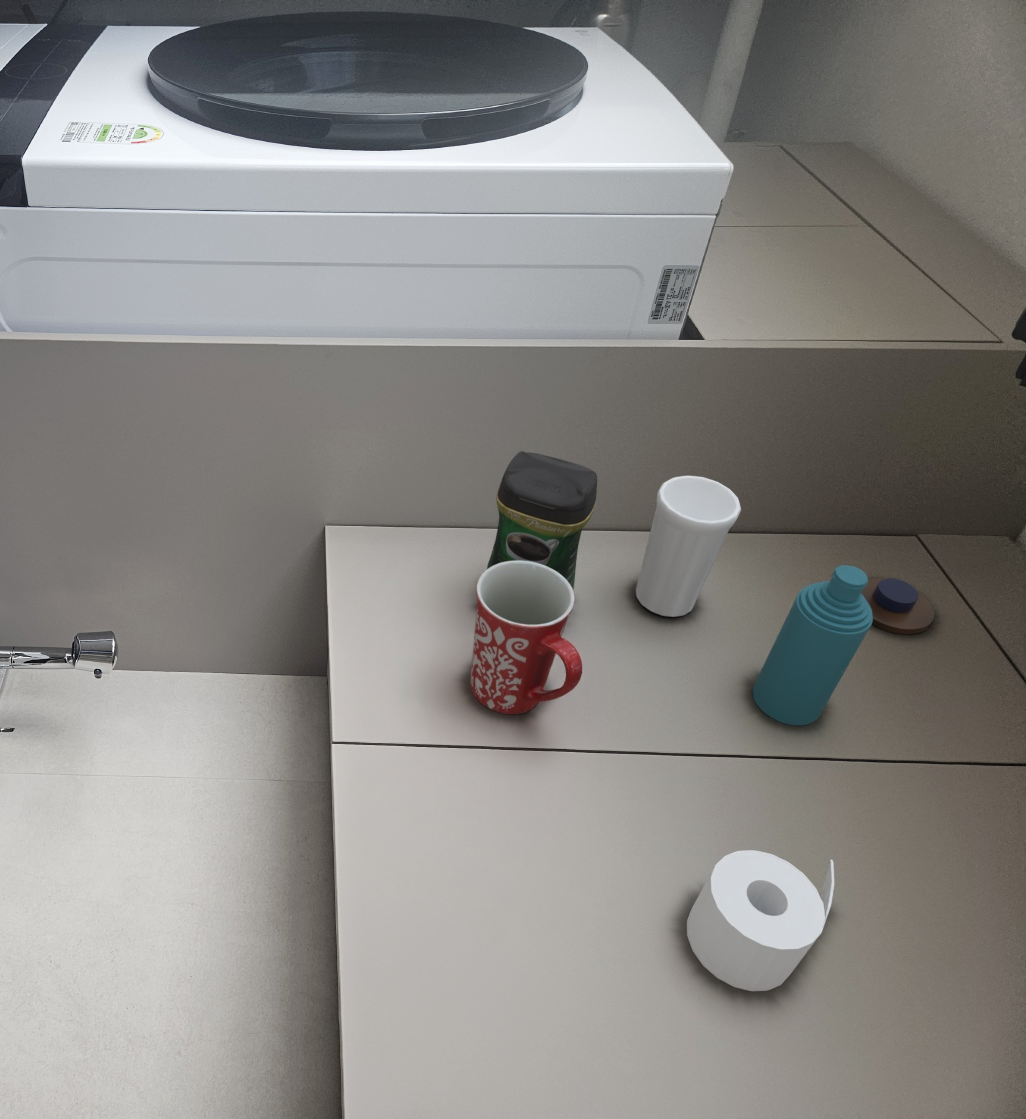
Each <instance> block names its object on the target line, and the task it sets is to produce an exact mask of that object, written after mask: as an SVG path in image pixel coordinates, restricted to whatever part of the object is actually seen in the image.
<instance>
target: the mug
mask: <svg viewBox="0 0 1026 1119" xmlns="http://www.w3.org/2000/svg"><path fill="white" fill-rule="evenodd" d="M486 569H487V568H486ZM486 569H485V570H484V571H483V572H482V573H481V574H480V575H479V578H478V579H477V582H476V586H475V593H476V598H477V600H476V612H475V624H474V635H473V646H472V660H471V669H470V677H469V678H470V680H469V682H470V689H471V691H472V694H473V696H474V697H475V698H476V700H477V701H478V702H479V703H480V704H482V705H483V706H485V707H486V708H488V709H490V710H492V711H494V712H497V713H499V714H506V715H519V714H523V713H526V712H529V711H531V710H532V709H534V708H536V706H537V705H538V704H540V703H542V702H548V701H553V700H556V699H559V698H561V697H563V696H565V695H567V694H569V693H570V692H572V691H573V690H575V688H576V687H577V686H578V684H579V682H580V681H581V678H582V674H583V661H582V658H581V655H580V653H579V651H578V649H577V648H576V646H575V645H573V643H572V642H570V641H569V640H567V639H565V638H564V637H563V633H564V630H565V627H566V625H567V621H568V618H569V616H570V614H571V613H572V611H573V609H574V606H575V602H576V598H575V592H574V590H573V589H572V587H571V585H570V584H569V582H568V581H567V580H566V579H565V578H564V577H563V576H562V575H561V574H559V573H558V572H557V571H555V570H553V569H551V568H549V567H547V566H545V565H542V564H539V563H535V562H530V561H506V562H502V563H499V564H496V565H494V566H492V567H490V568H488V569H487V570H486ZM556 655H558V657H559V658H560V660H561V661H562V663H563V665H564V669H565V678H564V681H563V684H562V686H561V687H558V688H555V689H549V690H548V689H545V688H546V685H547V682H548V679H549V676H550V672H551V670H552V666H553V663H554V661H555V657H556Z"/></svg>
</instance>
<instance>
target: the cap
mask: <svg viewBox="0 0 1026 1119" xmlns="http://www.w3.org/2000/svg"><path fill="white" fill-rule="evenodd" d="M917 591H918V589H916V588H915V587H914V586H913V585H911V584H910V583H909V582H907V581H905V580H902V579H898V578H893V577H888V578H884V579H883V580H881V581H880V582H879V584H878V585H877V587H876V589H875V591H874V593H873V597H874V600H875V601H876V602H877V603H878V604H879V605H880V606H881V607H883V608H885V609H887V610H889V611H892V612H897V613H905V612H908V611H910V610H911V609H912V608H913V606H914V605H915V603H916V601H917V600H918V597H919V595H918V592H919V591H918V592H917Z"/></svg>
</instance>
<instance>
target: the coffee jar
mask: <svg viewBox="0 0 1026 1119" xmlns="http://www.w3.org/2000/svg"><path fill="white" fill-rule="evenodd" d="M597 492H598V475H597V472H596V471H595V470H592V469H591V468H589V467H587V466H585V465H581V464H578V463H574V462H572V461H569V460H564V459H561V458H557V457H553V456H550V455H546V454H541V453H538V452H529V451H528V452H527V451H524V450H520V451H519V452H517V453H516V455H514V457H513V458H512V459H511V460H510V461H509V464H508V465H507V467H506V469H505V471H504V473H503V476H502V478H501V481H500V484H499V487H498V489H497V491H496V496H495V498H496V499H495V501H496V508H497V511H498V524H497V531H496V535H495V539H494V542H493V546H492V550H491V552H490V557H489V560H488V563H487V567H486V569H485V571H486V570H487V569H488V568H490V567H492V566H494V565H496V564H499V563H502V562H506V561H530V562H535V563H539V564H542V565H545V566H547V567H549V568H551V569H553V570H555V571H557V572H558V573H559V574H561V575H562V576H563V577H564V578H565V579H566V580H567V581H568V582H569V584H570V585H571V587H572V589H573V591H575V590H574V589H575V580H576V570H577V559H578V551H579V545H580V540H581V536H582V532H583V529H584V528H585V527H586V525H587V524H588V523H589V522H590V520H591V517H592V516H593V514H594V511H595V508H596V504H597Z"/></svg>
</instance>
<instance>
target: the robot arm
mask: <svg viewBox="0 0 1026 1119" xmlns="http://www.w3.org/2000/svg"><path fill="white" fill-rule="evenodd" d="M1014 325H1015V326H1014V328H1013V329H1012V331H1011V338H1013V339H1014V340H1015V341H1022V342H1023V343H1024V344H1026V307H1024V309H1023V311H1022V312H1021V314H1020V316H1019V317H1018V319H1017V320H1016V323H1015V324H1014ZM1015 379H1018V380H1019V382H1018V386H1021V387H1024V388H1026V352H1025V354H1024V355H1023V357H1022V359H1021V361H1020V362H1019V364H1018V366H1017V368H1016V370H1015Z"/></svg>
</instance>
